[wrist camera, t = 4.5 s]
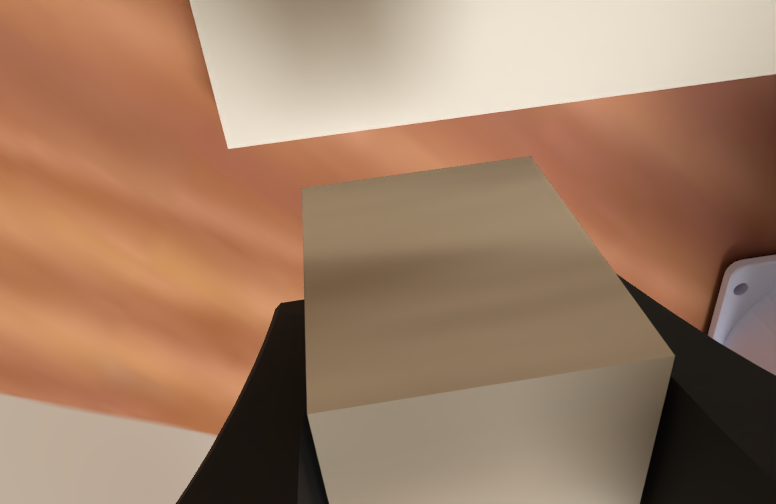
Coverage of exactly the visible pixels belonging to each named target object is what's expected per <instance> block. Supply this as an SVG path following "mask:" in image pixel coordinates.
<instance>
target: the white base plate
mask: <svg viewBox="0 0 776 504" xmlns="http://www.w3.org/2000/svg"><path fill="white" fill-rule="evenodd" d="M189 1H190V4H191V8H192V12H193V16H194V20H195V24H196V27H197V31H198V35H199V39H200V43H201V47H202V50H203V54H204V58H205V62H206V66H207V70H208V73H209V77H210V81H211V85H212V89H213V93H214V96H215V100H216V104H217V108H218V112H219V116H220V119H221V123H222V127H223V131H224V135H225V139H226V142H227V146H228V149H231V148H239V147H246V146H253V145H260V144H268V143H275V142H282V141H290V140H297V139H304V138H312V137H319V136H326V135H334V134H341V133H348V132H356V131H363V130H370V129H377V128H385V127H392V126H399V125H407V124H414V123H421V122H429V121H436V120H443V119H451V118H458V117H465V116H473V115H480V114H487V113H494V112H502V111H509V110H516V109H524V108H531V107H538V106H546V105H553V104H560V103H568V102H575V101H582V100H590V99H597V98H604V97H611V96H619V95H626V94H633V93H641V92H648V91H655V90H663V89H670V88H677V87H685V86H692V85H699V84H707V83H714V82H721V81H728V80H736V79H743V78H750V77H758V76H765V75H772V74H776V0H189Z"/></svg>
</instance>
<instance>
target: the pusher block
mask: <svg viewBox="0 0 776 504" xmlns="http://www.w3.org/2000/svg"><path fill="white" fill-rule="evenodd" d="M302 212H303V256H304V301H305V345H306V389H307V416H308V420H309V424H310V428H311V432H312V436H313V440H314V444H315V449H316V453H317V457H318V461H319V465H320V469H321V473H322V477H323V481H324V485H325V489H326V493H327V497H328V501H329V504H640V500H641V496H642V492H643V488H644V484H645V479H646V475H647V471H648V467H649V463H650V459H651V454H652V450H653V446H654V442H655V438H656V434H657V429H658V425H659V421H660V417H661V413H662V408H663V404H664V400H665V396H666V392H667V388H668V383H669V379H670V375H671V371H672V367H673V363H674V358H675V355H674V354H673V352H672V351H671V349H670V348H669V347H668V345H667V344H666V342H665V341H664V340H663V338H662V337H661V336H660V334H659V333H658V331H657V330H656V329H655V327H654V326H653V325H652V323H651V322H650V320H649V319H648V318H647V316H646V315H645V313H644V312H643V311H642V309H641V308H640V307H639V305H638V304H637V302H636V301H635V300H634V298H633V297H632V295H631V294H630V293H629V291H628V290H627V289H626V287H625V286H624V284H623V283H622V282H621V280H620V279H619V278H618V276H617V275H616V273H615V272H614V271H613V269H612V268H611V266H610V265H609V264H608V262H607V261H606V260H605V258H604V257H603V255H602V254H601V253H600V251H599V250H598V248H597V247H596V246H595V244H594V243H593V242H592V240H591V239H590V237H589V236H588V235H587V233H586V232H585V231H584V229H583V228H582V226H581V225H580V224H579V222H578V221H577V219H576V218H575V217H574V215H573V214H572V213H571V211H570V210H569V208H568V207H567V206H566V204H565V203H564V201H563V200H562V199H561V197H560V196H559V195H558V193H557V192H556V190H555V189H554V188H553V186H552V185H551V184H550V182H549V181H548V179H547V178H546V177H545V175H544V174H543V172H542V171H541V170H540V168H539V167H538V166H537V164H536V163H535V161H534V160H533V159H532V157H531V156H528V157H520V158H513V159H506V160H499V161H492V162H485V163H478V164H470V165H463V166H456V167H449V168H442V169H435V170H428V171H421V172H413V173H406V174H399V175H392V176H385V177H378V178H371V179H363V180H356V181H349V182H342V183H335V184H328V185H321V186H314V187H306V188H302Z"/></svg>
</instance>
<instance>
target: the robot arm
mask: <svg viewBox="0 0 776 504" xmlns="http://www.w3.org/2000/svg"><path fill="white" fill-rule="evenodd" d="M616 275H617V274H616ZM617 276H618V278H619V279H620V280H621V282H622V283H623V284H624V286H625V287H626V289H627V290H628V291H629V293H630V294H631V295H632V297H633V298H634V300H635V301H636V302H637V304H638V305H639V307H640V308H641V309H642V311H643V312H644V313H645V315H646V316H647V318H648V319H649V320H650V322H651V323H652V325H653V326H654V327H655V329H656V330H657V331H658V333H659V334H660V336H661V337H662V338H663V340H664V341H665V342H666V344H667V345H668V347H669V348H670V349H671V351H672V352H673V354H674V355H675V358H674V363H673V367H672V371H671V375H670V379H669V383H668V388H667V392H666V396H665V400H664V404H663V408H662V413H661V417H660V421H659V425H658V429H657V434H656V438H655V442H654V446H653V450H652V454H651V459H650V463H649V467H648V471H647V475H646V479H645V484H644V488H643V492H642V496H641V500H640V504H776V255H770V256H763V257H757V258H750V259H743V260H739V261H736V262H734V263H732V264H731V265H730V266H729V267H728V268H727V269H726V271H725V273H724V277H723V280H722V284H721V288H720V291H719V295H718V299H717V303H716V306H715V310H714V314H713V317H712V321H711V325H710V328H709V332H708V335H706V334H705V333H703V332H701V331H700V330H698V329H697V328H695V327H694V326H692V325H690V324H689V323H687V322H686V321H684V320H683V319H681V318H680V317H678V316H677V315H675V314H674V313H672V312H671V311H669V310H668V309H666V308H665V307H663V306H662V305H660V304H659V303H658V302H656V301H655V300H653V299H652V298H650V297H649V296H647V295H646V294H645V293H643V292H642V291H640V290H639V289H637V288H636V287H634V286H633V285H632V284H630V283H629V282H627V281H626V280H624V279H623V278H622V277H620V276H619V275H617ZM739 284H740V285H739ZM736 286H737V287H736ZM176 504H329V501H328V497H327V493H326V489H325V485H324V481H323V477H322V473H321V469H320V465H319V461H318V457H317V453H316V449H315V444H314V440H313V436H312V432H311V428H310V424H309V420H308V416H307V389H306V345H305V301H304V300H298V301H291V302H285V303H280V305H279V306H278V307H277V308H276V309H275V312H274V315H273V318H272V321H271V324H270V327H269V330H268V332H267V335H266V338H265V340H264V343H263V345H262V347H261V350H260V352H259V354H258V357H257V359H256V361H255V364H254V366H253V368H252V370H251V372H250V374H249V376H248V379H247V381H246V383H245V385H244V387H243V389H242V391H241V393H240V395H239V397H238V399H237V401H236V403H235V405H234V407H233V409H232V411H231V413H230V415H229V416H228V418H227V420H226V422H225V424H224V425H223V427H222V429H221V431H220V433H219V434H218V436H217V438H216V440H215V442H214V444H213V445H212V447H211V449H210V451H209V452H208V454H207V456H206V457H205V459H204V461H203V462H202V464H201V466H200V467H199V469H198V471H197V472H196V474H195V475H194V477H193V478H192V480H191V482H190V483H189V485H188V486H187V488H186V489H185V491H184V492H183V494H182V495H181V497H180V498H179V500H178V501H177V503H176Z"/></svg>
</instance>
